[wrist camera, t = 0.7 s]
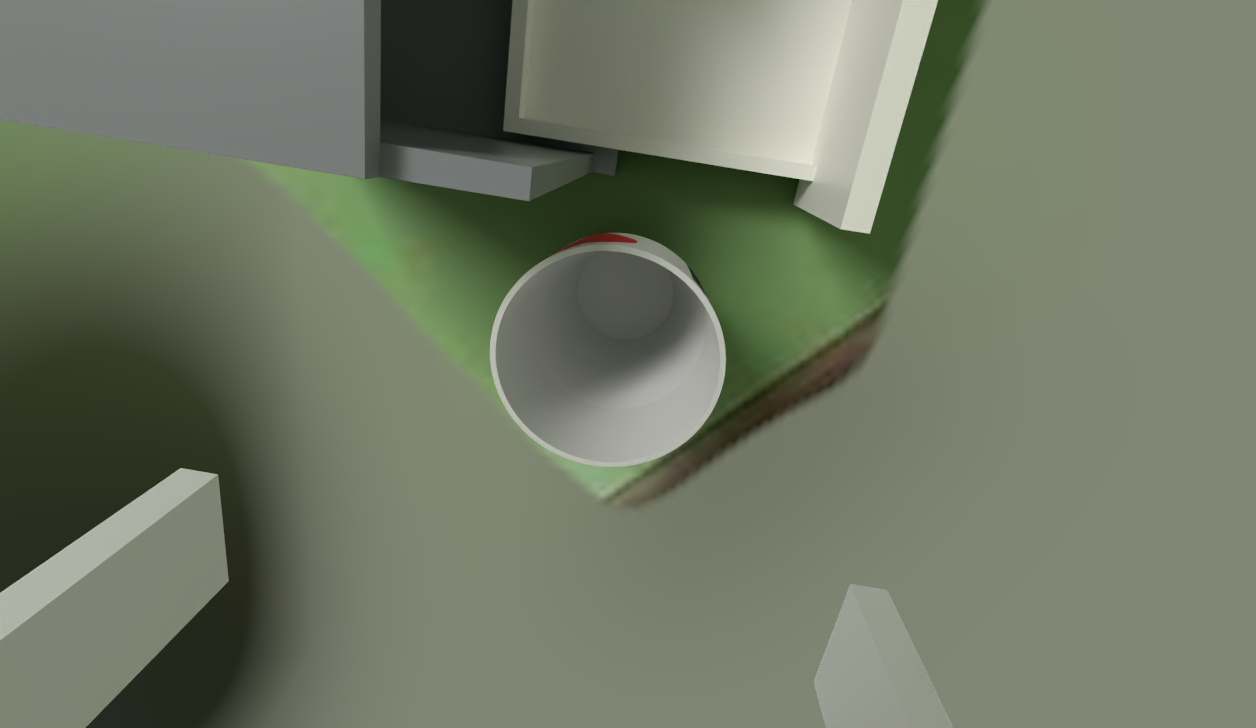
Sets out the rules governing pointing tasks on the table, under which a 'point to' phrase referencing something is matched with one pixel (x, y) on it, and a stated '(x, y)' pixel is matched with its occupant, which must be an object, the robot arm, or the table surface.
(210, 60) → the housing
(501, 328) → the cup
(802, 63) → the white drawer
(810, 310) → the table surface
